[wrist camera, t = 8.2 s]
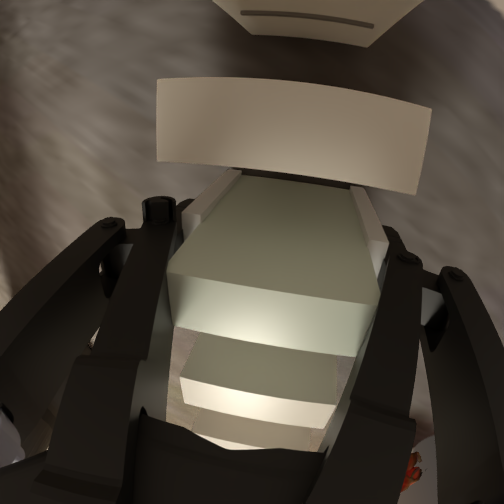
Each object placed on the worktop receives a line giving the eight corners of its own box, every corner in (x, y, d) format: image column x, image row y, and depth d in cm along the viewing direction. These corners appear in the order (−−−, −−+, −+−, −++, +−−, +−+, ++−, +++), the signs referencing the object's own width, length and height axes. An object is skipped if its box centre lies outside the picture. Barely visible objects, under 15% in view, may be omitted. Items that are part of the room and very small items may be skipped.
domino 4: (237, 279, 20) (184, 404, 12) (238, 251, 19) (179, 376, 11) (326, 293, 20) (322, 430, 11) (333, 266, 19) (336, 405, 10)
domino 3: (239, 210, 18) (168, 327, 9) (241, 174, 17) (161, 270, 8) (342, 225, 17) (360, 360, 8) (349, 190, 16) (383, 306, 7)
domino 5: (234, 332, 23) (194, 447, 14) (235, 311, 22) (190, 431, 13) (312, 345, 22) (300, 467, 14) (318, 325, 21) (308, 454, 12)
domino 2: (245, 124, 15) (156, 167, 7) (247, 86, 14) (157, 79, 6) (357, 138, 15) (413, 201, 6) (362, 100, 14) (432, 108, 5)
